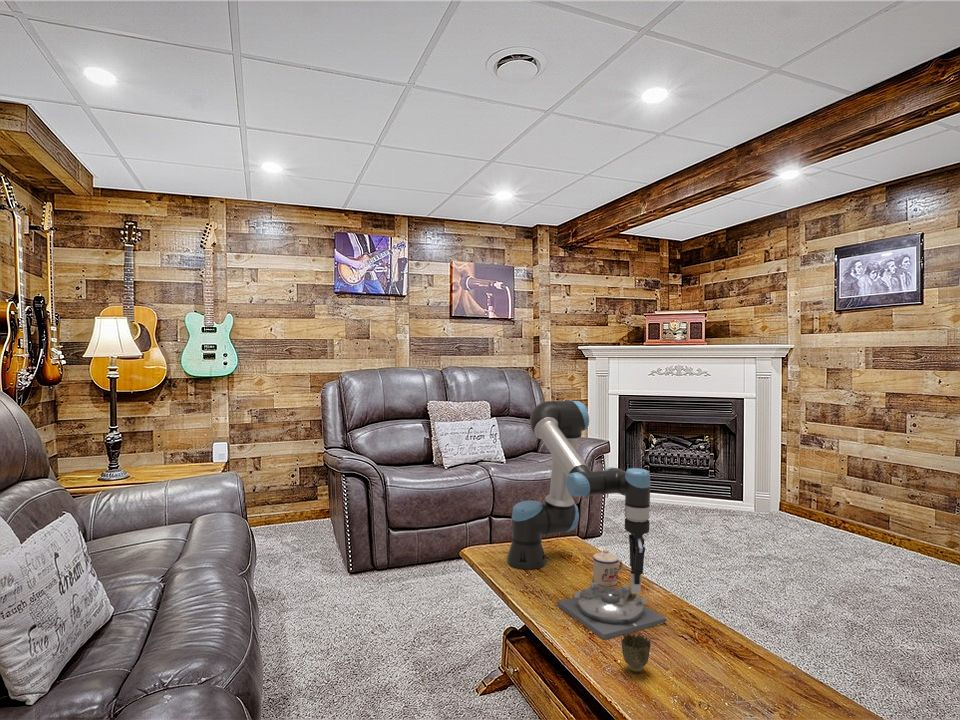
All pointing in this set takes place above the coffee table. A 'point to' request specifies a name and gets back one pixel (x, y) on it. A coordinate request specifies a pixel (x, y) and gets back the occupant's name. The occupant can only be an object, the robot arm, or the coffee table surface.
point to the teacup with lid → (606, 568)
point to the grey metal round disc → (610, 603)
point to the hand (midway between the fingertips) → (635, 592)
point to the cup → (635, 651)
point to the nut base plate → (610, 629)
